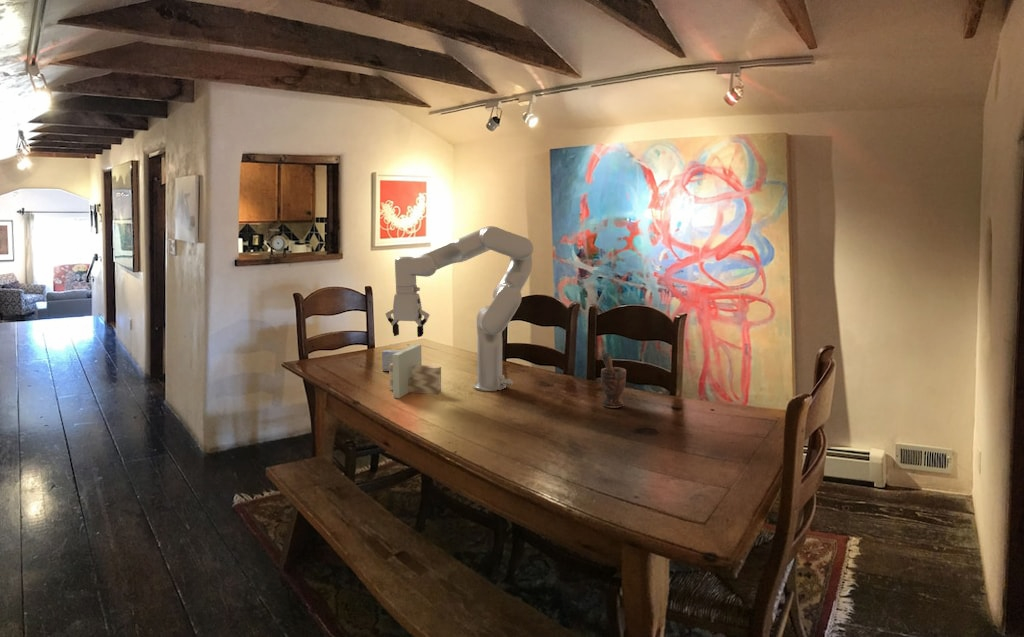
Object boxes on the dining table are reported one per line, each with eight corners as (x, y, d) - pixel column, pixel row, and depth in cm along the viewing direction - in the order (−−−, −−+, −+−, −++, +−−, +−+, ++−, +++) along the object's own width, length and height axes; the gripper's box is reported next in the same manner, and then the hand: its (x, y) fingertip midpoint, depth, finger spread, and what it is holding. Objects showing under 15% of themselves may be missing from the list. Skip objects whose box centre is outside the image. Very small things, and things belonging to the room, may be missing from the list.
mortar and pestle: (624, 413, 225) (626, 355, 222) (598, 411, 227) (600, 354, 224) (625, 403, 236) (627, 348, 233) (601, 402, 238) (602, 347, 235)
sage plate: (416, 384, 261) (415, 344, 259) (421, 384, 261) (421, 344, 258) (393, 397, 242) (392, 354, 240) (399, 398, 242) (398, 354, 239)
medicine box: (403, 370, 285) (402, 350, 284) (400, 372, 281) (400, 352, 280) (385, 369, 286) (384, 349, 285) (382, 371, 282) (381, 351, 280)
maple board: (441, 392, 249) (440, 366, 248) (438, 394, 247) (438, 368, 245) (392, 388, 255) (391, 363, 253) (389, 390, 252) (389, 364, 251)
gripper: (432, 289, 247) (433, 334, 250) (389, 288, 252) (391, 333, 254) (423, 291, 240) (425, 338, 242) (380, 291, 244) (382, 336, 247)
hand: (408, 335), depth 248 cm, fingers open, 9 cm apart
